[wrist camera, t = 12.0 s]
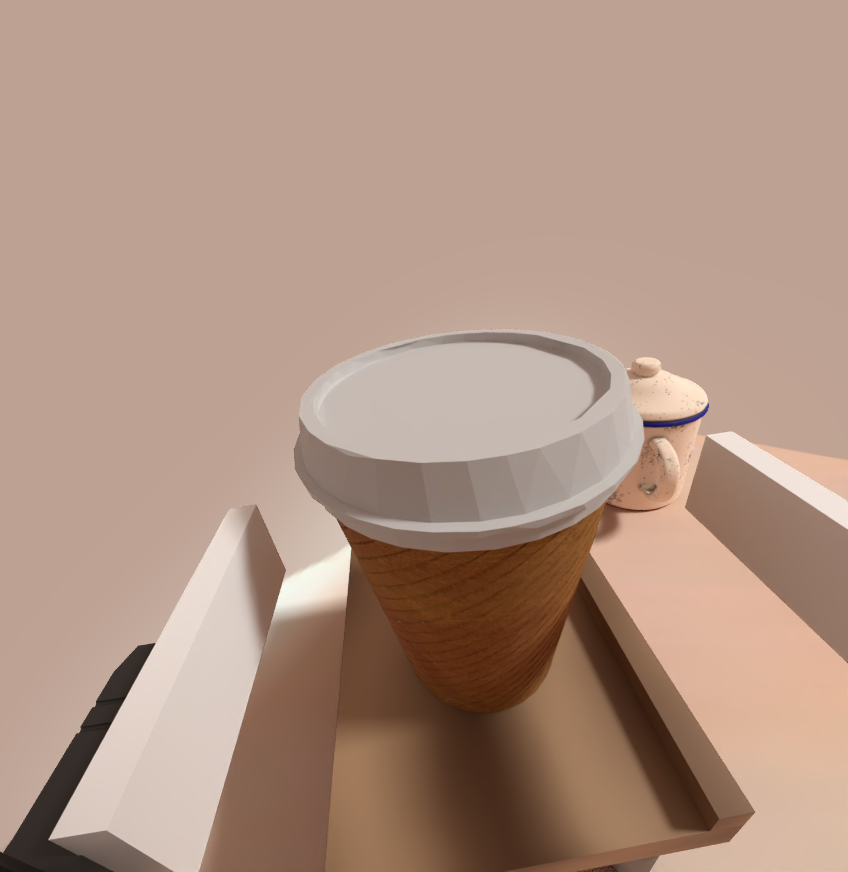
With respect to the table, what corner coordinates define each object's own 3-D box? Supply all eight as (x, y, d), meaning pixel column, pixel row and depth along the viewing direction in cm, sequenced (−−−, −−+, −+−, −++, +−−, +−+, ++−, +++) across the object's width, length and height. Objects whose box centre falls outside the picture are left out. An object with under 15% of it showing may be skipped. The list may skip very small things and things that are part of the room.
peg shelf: (544, 585, 26) (549, 491, 22) (684, 891, 14) (755, 811, 10) (376, 615, 26) (348, 524, 22) (373, 953, 14) (311, 898, 10)
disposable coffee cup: (325, 651, 17) (216, 406, 11) (458, 523, 22) (436, 318, 16) (520, 859, 11) (523, 570, 5) (632, 612, 16) (699, 339, 10)
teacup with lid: (565, 454, 40) (573, 346, 34) (659, 452, 38) (685, 338, 32) (593, 540, 29) (612, 406, 24) (723, 541, 28) (778, 398, 22)
